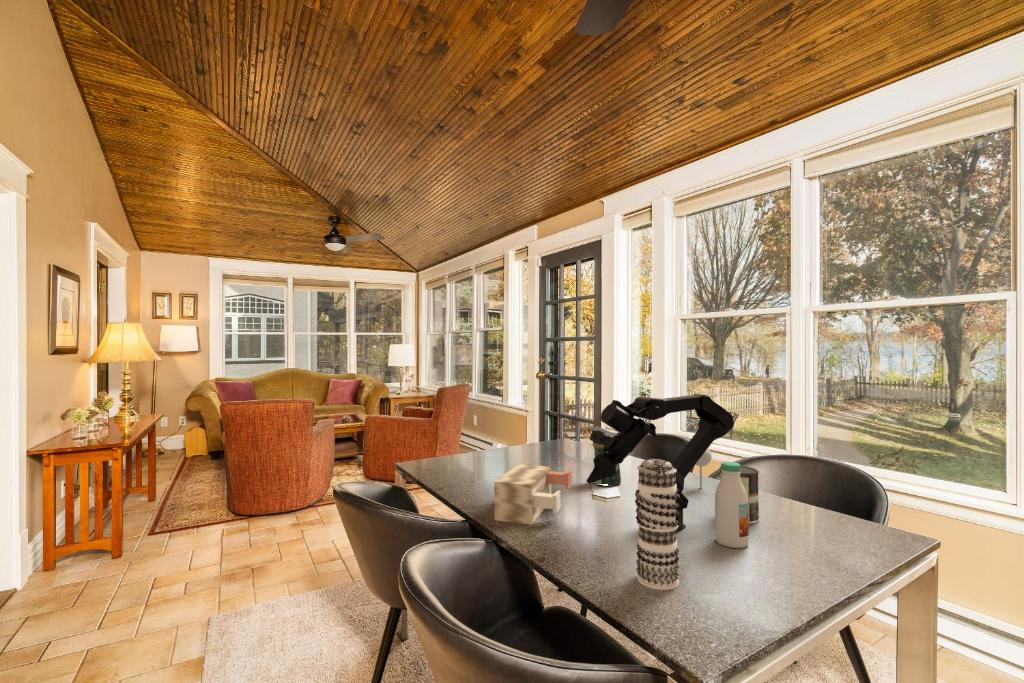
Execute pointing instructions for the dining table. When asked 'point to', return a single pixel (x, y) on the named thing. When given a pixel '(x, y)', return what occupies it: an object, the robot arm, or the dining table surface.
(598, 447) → the coffee jar
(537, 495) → the cream plug
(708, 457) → the lollipop
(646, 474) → the decorative candle
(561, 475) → the terracotta plug
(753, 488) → the coffee can
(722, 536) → the milk bottle
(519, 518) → the socket block
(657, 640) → the dining table surface
